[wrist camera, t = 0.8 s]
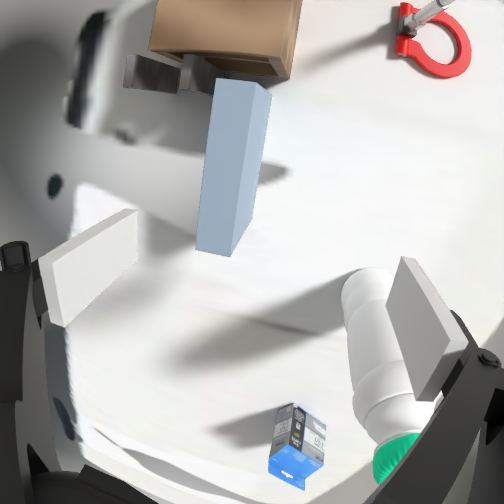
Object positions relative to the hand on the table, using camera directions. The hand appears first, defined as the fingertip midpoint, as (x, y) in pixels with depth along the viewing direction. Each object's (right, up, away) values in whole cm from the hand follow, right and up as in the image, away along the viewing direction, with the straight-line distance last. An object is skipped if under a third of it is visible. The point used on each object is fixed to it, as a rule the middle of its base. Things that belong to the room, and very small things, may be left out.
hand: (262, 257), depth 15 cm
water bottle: (+14, -4, +23) cm, 27 cm away
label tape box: (+8, -27, +33) cm, 44 cm away
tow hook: (+19, +23, +10) cm, 32 cm away
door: (-1, +11, +19) cm, 22 cm away
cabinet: (-2, +24, +13) cm, 28 cm away
